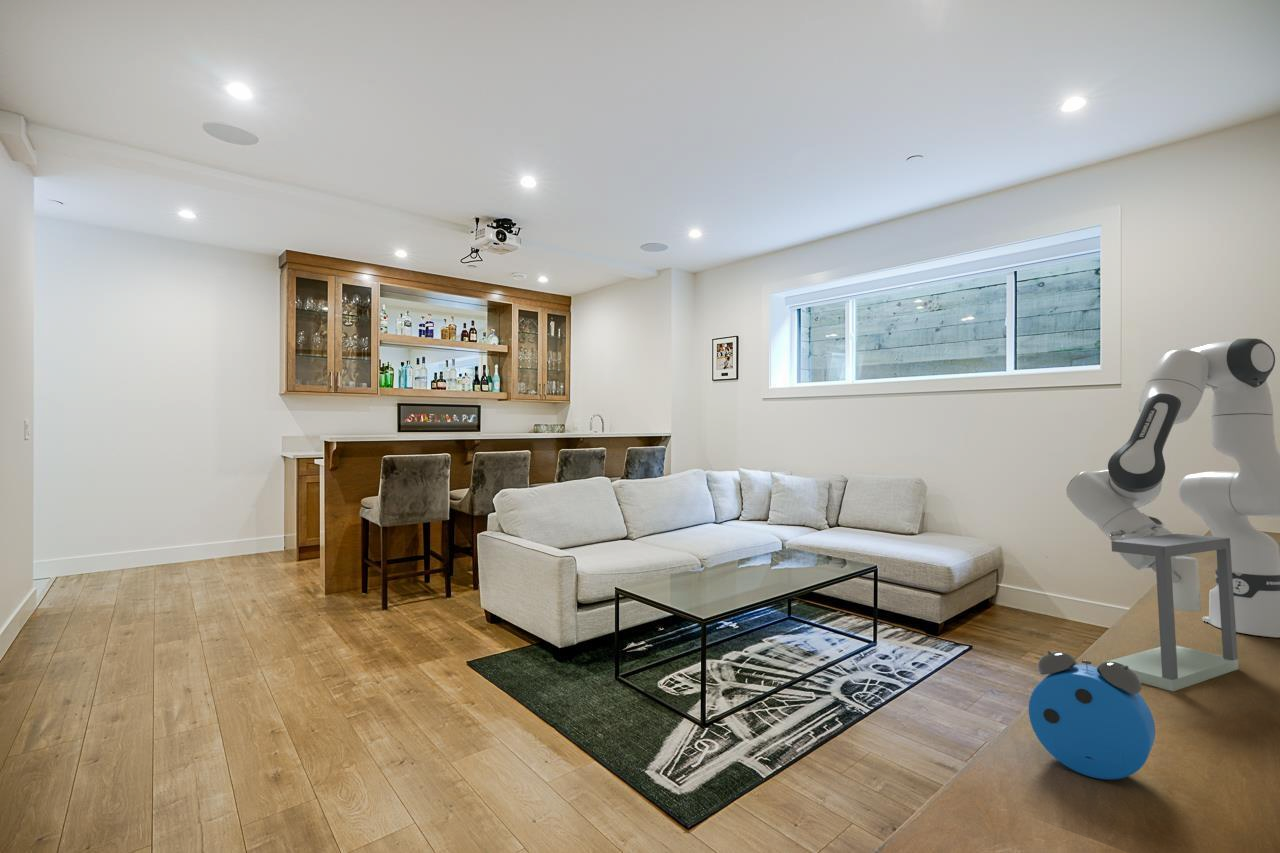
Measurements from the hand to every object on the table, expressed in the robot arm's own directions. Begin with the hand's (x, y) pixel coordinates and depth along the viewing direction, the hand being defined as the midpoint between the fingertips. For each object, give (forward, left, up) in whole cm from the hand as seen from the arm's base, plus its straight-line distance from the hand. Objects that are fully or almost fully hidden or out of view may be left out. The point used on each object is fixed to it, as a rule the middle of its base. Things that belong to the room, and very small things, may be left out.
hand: (1185, 579), depth 130 cm
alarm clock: (+74, +18, -16) cm, 78 cm away
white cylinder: (0, -1, -6) cm, 6 cm away
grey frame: (+17, +4, -16) cm, 24 cm away
